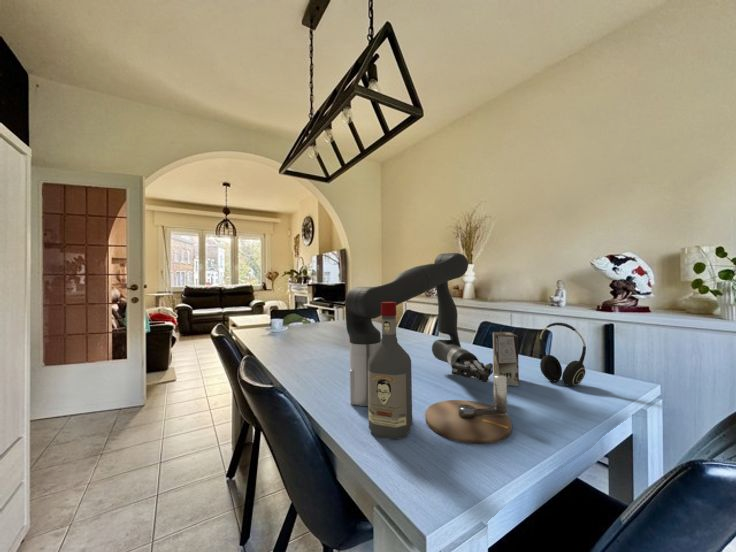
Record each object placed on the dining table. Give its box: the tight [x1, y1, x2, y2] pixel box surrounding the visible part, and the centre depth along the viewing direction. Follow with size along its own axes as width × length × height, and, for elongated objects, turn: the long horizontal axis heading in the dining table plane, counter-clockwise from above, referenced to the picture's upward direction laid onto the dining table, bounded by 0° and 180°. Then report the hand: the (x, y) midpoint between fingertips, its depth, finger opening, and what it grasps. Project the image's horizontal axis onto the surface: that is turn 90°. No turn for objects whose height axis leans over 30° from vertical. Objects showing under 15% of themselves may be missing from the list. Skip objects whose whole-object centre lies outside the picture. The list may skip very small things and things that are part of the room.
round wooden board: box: [424, 399, 513, 445], centre depth 76 cm, size 20×20×2 cm
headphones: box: [538, 322, 587, 387], centre depth 102 cm, size 9×15×20 cm, turn 28°
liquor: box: [367, 302, 413, 441], centre depth 73 cm, size 9×9×30 cm
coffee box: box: [492, 331, 520, 387], centre depth 105 cm, size 9×6×16 cm
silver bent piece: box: [458, 374, 508, 418], centre depth 76 cm, size 12×4×9 cm, turn 93°
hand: (485, 378), depth 82 cm, fingers closed
